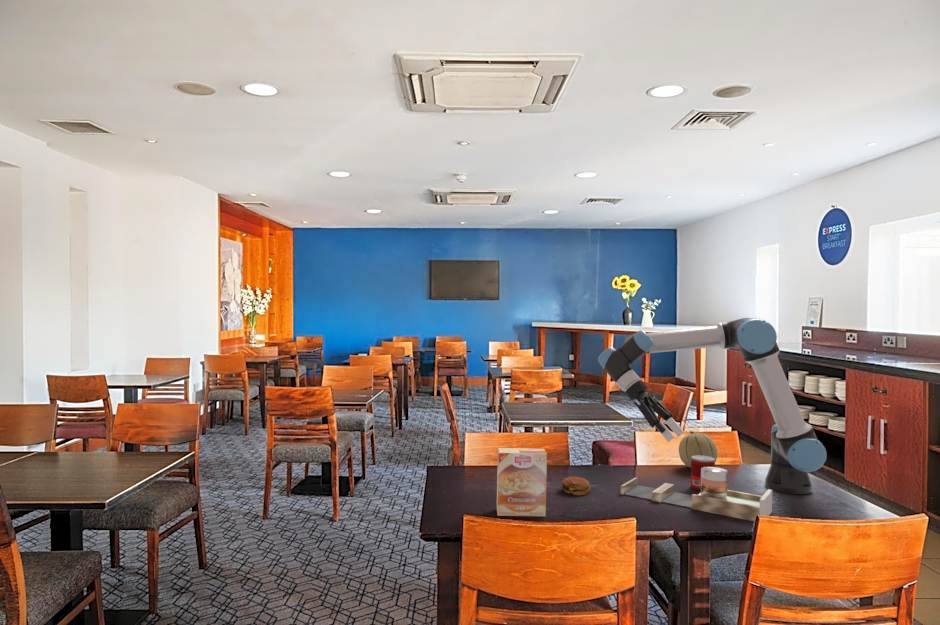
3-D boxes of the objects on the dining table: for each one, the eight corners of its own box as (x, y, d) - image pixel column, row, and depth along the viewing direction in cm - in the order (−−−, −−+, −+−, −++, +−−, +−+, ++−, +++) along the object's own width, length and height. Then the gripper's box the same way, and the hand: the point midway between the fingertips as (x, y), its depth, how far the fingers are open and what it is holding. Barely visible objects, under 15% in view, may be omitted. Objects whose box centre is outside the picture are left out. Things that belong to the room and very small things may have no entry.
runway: (620, 494, 213) (620, 481, 213) (634, 485, 224) (635, 473, 224) (759, 522, 187) (759, 507, 187) (767, 510, 198) (768, 496, 198)
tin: (725, 495, 204) (726, 467, 204) (728, 502, 196) (729, 474, 196) (699, 492, 206) (699, 465, 206) (701, 499, 198) (702, 471, 198)
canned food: (716, 492, 217) (716, 461, 217) (692, 490, 219) (692, 459, 219) (712, 486, 225) (712, 455, 225) (689, 484, 226) (689, 454, 226)
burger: (585, 487, 221) (586, 474, 221) (593, 495, 211) (593, 482, 211) (558, 488, 220) (558, 475, 220) (565, 496, 210) (565, 482, 210)
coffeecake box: (497, 516, 189) (498, 452, 188) (496, 508, 196) (497, 447, 195) (546, 517, 189) (547, 453, 188) (543, 509, 196) (544, 447, 196)
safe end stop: (721, 514, 193) (721, 492, 193) (731, 504, 204) (731, 482, 204) (763, 523, 186) (764, 500, 186) (771, 511, 197) (772, 489, 197)
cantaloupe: (716, 476, 238) (716, 437, 238) (676, 471, 244) (676, 433, 244) (718, 467, 252) (719, 430, 251) (680, 463, 258) (681, 427, 258)
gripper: (636, 389, 228) (678, 438, 219) (612, 396, 210) (657, 449, 201) (651, 376, 225) (694, 425, 216) (627, 381, 207) (674, 435, 198)
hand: (676, 436), depth 208 cm, fingers open, 10 cm apart
